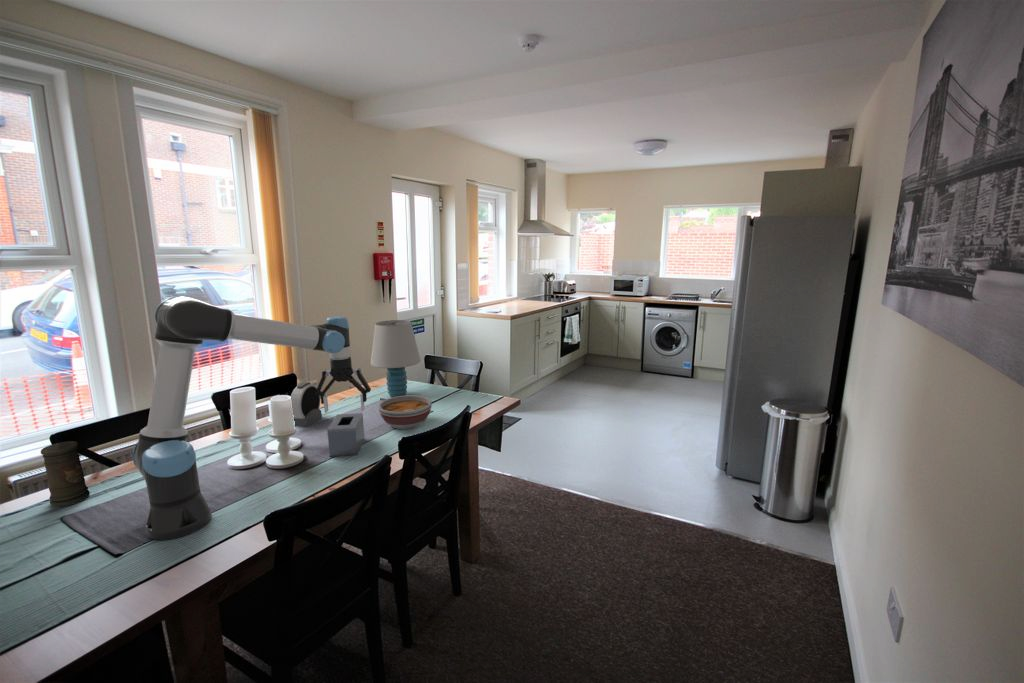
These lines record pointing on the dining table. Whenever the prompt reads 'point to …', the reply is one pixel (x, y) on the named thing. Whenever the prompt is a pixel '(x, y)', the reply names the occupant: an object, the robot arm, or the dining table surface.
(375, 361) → the lamp
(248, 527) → the dining table surface
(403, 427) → the bowl
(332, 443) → the box
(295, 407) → the alarm clock
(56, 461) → the container
